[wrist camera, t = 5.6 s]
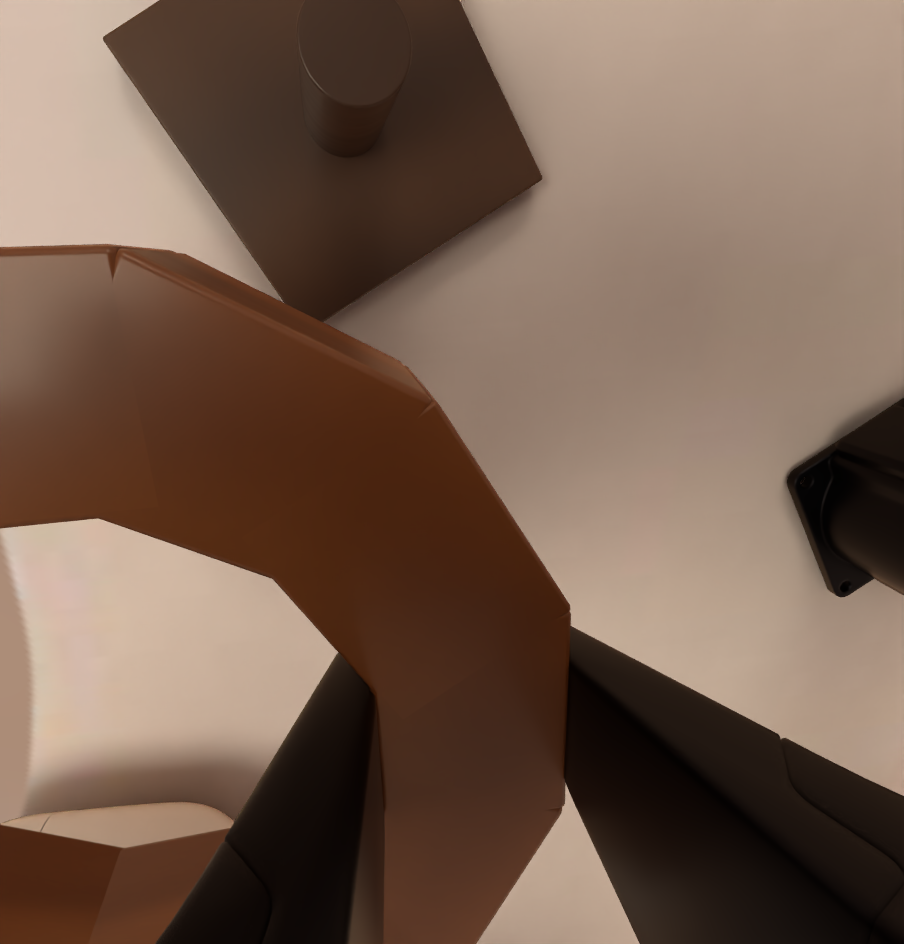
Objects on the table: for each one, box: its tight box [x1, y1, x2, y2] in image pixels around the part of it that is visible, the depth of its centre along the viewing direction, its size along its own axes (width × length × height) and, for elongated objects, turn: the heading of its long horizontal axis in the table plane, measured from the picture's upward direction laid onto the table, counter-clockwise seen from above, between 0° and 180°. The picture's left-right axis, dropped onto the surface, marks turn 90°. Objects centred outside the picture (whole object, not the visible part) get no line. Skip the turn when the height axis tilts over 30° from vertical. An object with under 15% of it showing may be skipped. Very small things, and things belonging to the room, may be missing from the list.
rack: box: [103, 0, 542, 322], centre depth 14 cm, size 8×8×6 cm
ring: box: [0, 244, 571, 944], centre depth 8 cm, size 11×11×2 cm
